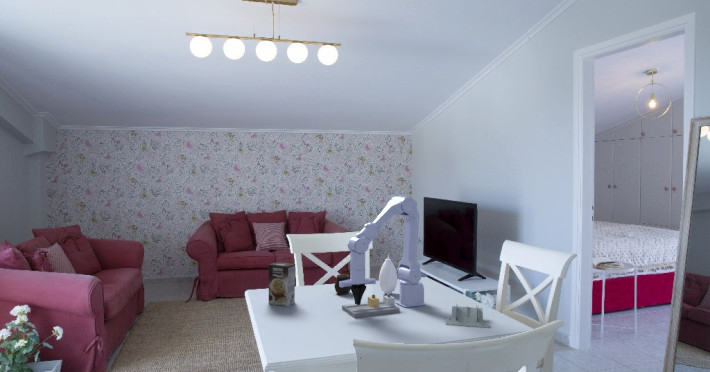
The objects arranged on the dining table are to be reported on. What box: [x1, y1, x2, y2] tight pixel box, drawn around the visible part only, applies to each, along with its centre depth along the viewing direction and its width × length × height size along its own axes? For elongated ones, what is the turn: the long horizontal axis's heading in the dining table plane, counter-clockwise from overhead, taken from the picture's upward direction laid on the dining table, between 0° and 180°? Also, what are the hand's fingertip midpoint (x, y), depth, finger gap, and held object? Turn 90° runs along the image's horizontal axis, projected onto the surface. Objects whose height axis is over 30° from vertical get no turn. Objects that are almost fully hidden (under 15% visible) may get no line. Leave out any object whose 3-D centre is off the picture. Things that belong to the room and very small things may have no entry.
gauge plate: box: [341, 293, 401, 319], centre depth 186 cm, size 19×12×6 cm, turn 114°
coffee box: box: [268, 261, 296, 307], centre depth 195 cm, size 9×6×16 cm
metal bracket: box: [445, 303, 491, 329], centre depth 174 cm, size 14×6×15 cm
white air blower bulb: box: [378, 252, 398, 295], centre depth 211 cm, size 8×8×18 cm
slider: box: [367, 294, 380, 307], centre depth 186 cm, size 3×4×4 cm
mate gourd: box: [334, 272, 351, 295], centre depth 211 cm, size 7×8×10 cm
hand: (357, 304), depth 184 cm, fingers closed
